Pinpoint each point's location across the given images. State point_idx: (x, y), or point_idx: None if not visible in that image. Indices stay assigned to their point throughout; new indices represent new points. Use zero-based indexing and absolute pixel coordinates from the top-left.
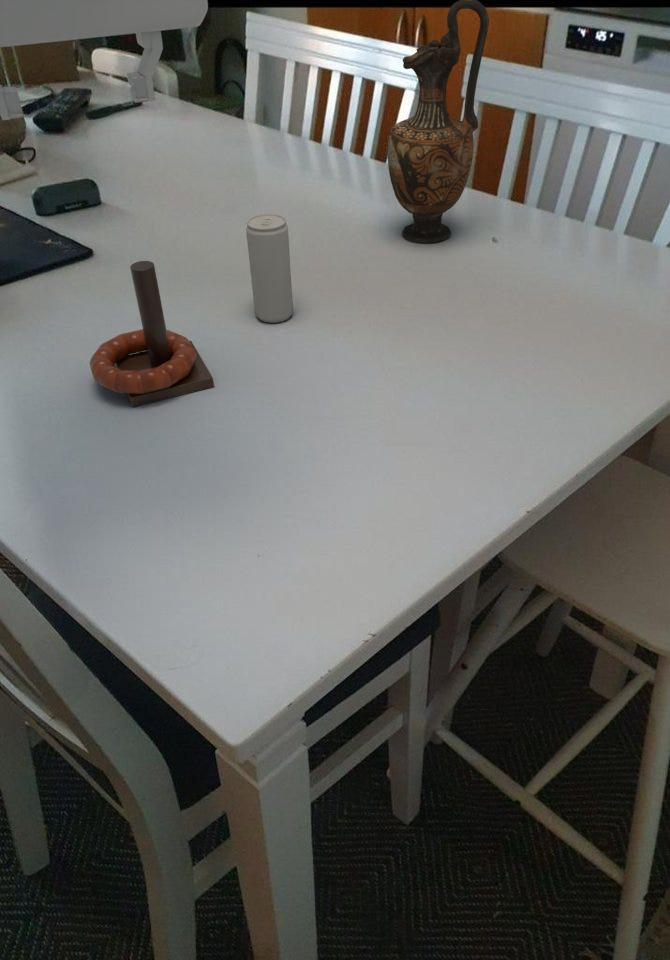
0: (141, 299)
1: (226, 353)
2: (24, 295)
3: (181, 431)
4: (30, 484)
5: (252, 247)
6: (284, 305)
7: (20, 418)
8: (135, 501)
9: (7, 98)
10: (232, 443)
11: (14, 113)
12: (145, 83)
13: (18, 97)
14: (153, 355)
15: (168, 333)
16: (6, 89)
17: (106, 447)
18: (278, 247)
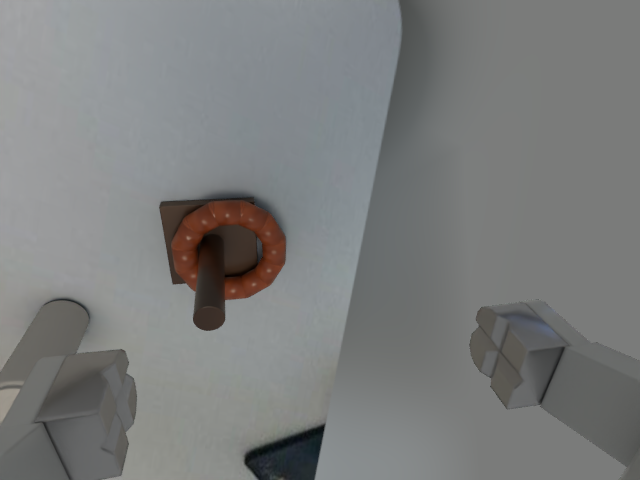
0: (219, 285)
1: (136, 259)
2: (316, 404)
3: (211, 134)
4: (368, 109)
5: None
6: (44, 312)
7: (356, 218)
8: (280, 29)
9: (551, 334)
10: (157, 85)
11: (513, 306)
12: (48, 397)
13: (518, 339)
14: (219, 246)
15: (196, 281)
16: (541, 383)
17: (291, 139)
18: (13, 366)
